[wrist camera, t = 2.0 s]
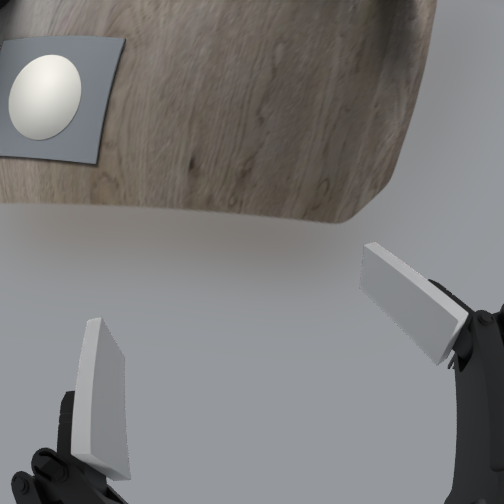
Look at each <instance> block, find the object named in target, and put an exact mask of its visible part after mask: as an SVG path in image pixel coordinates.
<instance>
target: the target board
mask: <svg viewBox="0 0 504 504" xmlns="http://www.w3.org/2000/svg"><path fill="white" fill-rule="evenodd" d="M125 40H126V39H123V38H113V37H98V36H43V37H29V38H19V39H11V40H4V41H3V44H2V47H1V51H0V156H17V157H31V158H43V159H54V160H64V161H74V162H82V163H91V164H96V163H97V159H98V152H99V146H100V139H101V134H102V128H103V123H104V118H105V113H106V108H107V104H108V99H109V95H110V91H111V87H112V83H113V79H114V76H115V72H116V69H117V65H118V62H119V59H120V55H121V52H122V49H123V46H124V43H125Z"/></svg>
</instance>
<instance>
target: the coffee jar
mask: <svg viewBox="0 0 504 504" xmlns="http://www.w3.org/2000/svg"><path fill="white" fill-rule="evenodd" d="M8 1H9V0H0V9H1V8H2V7H3V6H4V5H5V4H6V3H7V2H8Z"/></svg>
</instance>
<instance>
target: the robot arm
mask: <svg viewBox="0 0 504 504" xmlns="http://www.w3.org/2000/svg"><path fill="white" fill-rule="evenodd" d="M359 288H360V289H361V290H362V291H363V292H364V293H365V294H366V295H367V296H368V297H369V298H370V299H372V300H373V301H374V302H375V303H376V304H377V305H378V306H379V307H380V308H381V309H382V310H383V311H384V312H385V313H386V314H387V315H388V316H389V317H390V318H391V319H392V320H393V321H394V322H395V323H396V324H397V325H398V326H399V327H400V328H401V329H402V330H403V331H404V332H405V333H406V334H407V335H408V336H409V337H410V338H411V339H412V340H413V341H414V342H415V343H416V344H417V345H418V346H419V348H420V349H422V351H423V352H424V353H425V354H426V355H427V356H428V357H429V358H430V359H431V360H432V361H433V362H434V363H435V364H436V365H439V364H440V363H441V362H443V361H444V360H445V359H447V357H448V355H449V354H450V352H451V350H452V349H453V350H454V351H455V354H454V356H453V357H452V359H451V361H450V363H449V365H448V369H450V367H451V366H452V364H453V362H454V366H453V369H455V381H456V400H457V440H456V458H455V469H454V478H453V486H452V490H451V492H450V494H449V496H448V497H447V498H446V500H445V503H444V504H504V304H503V305H502V307H501V310H500V312H497V313H494V314H491V313H489V312H487V311H484V310H478V311H476V312H474V311H473V310H472V309H471V308H469V307H468V306H467V305H466V304H464V303H463V302H462V301H461V300H459V299H458V298H457V297H456V296H455V295H452V293H451V292H449V291H448V290H446V288H444V287H443V286H442V285H440V284H439V283H437V282H435V281H433V280H430V279H429V280H426V279H425V278H424V277H423V276H421V275H420V274H419V273H417V272H416V271H415V270H413V269H412V268H411V267H409V266H408V265H407V264H405V263H404V262H403V261H401V260H400V259H398V258H397V257H396V256H394V255H393V254H391V253H390V252H389V251H387V250H386V249H384V248H383V247H382V246H380V245H379V244H377V243H376V242H372V243H369V244H366V245H364V248H363V259H362V269H361V277H360V285H359ZM124 366H125V357H124V355H123V353H122V352H121V350H120V349H119V347H118V345H117V343H116V342H115V340H114V338H113V337H112V335H111V333H110V331H109V329H108V328H107V326H106V324H105V322H104V320H103V318H102V317H99V318H94V319H90V320H87V325H86V330H85V334H84V340H83V345H82V350H81V356H80V361H79V368H78V374H77V382H76V389H75V391H69V392H66V394H65V396H64V398H63V400H62V402H61V409H60V417H59V423H60V424H59V427H58V441H57V453H56V452H55V451H54V450H52V449H49V448H41V449H39V450H38V451H36V453H35V454H34V455H33V458H32V461H31V466H32V471H33V473H34V476H31V475H30V474H28V473H26V472H23V471H19V472H17V473H16V474H15V475H14V476H13V478H12V482H11V486H12V491H13V494H14V497H15V500H16V503H17V504H128V503H127V502H126V501H125V500H124V499H123V498H122V497H121V496H120V495H118V494H117V493H116V492H115V491H114V490H113V489H112V488H111V487H110V486H109V485H108V484H107V482H106V477H108V478H110V479H112V480H113V481H119V480H131V475H130V467H129V458H128V447H127V435H126V419H125V388H124V369H125V368H124Z"/></svg>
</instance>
